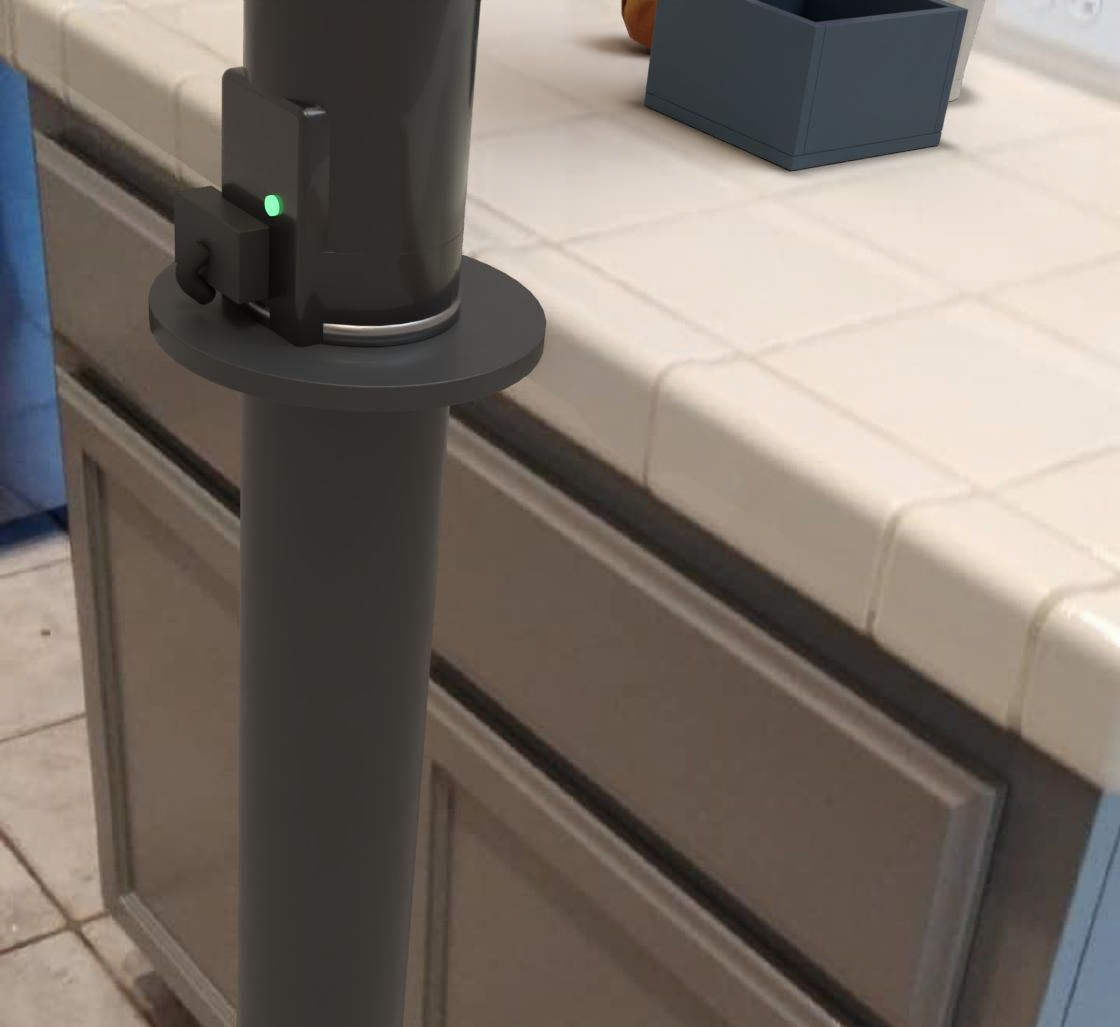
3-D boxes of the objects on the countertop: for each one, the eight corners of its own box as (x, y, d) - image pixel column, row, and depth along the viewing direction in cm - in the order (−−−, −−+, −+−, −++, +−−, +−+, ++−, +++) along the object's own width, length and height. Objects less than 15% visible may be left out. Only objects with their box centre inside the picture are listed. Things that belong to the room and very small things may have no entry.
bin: (790, 171, 106) (815, 27, 101) (643, 105, 113) (660, -32, 109) (939, 145, 113) (969, 9, 108) (791, 84, 120) (813, -45, 116)
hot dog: (607, 36, 126) (616, -44, 123) (800, 49, 128) (813, -28, 125) (620, 57, 122) (629, -24, 119) (819, 71, 124) (833, -9, 121)
